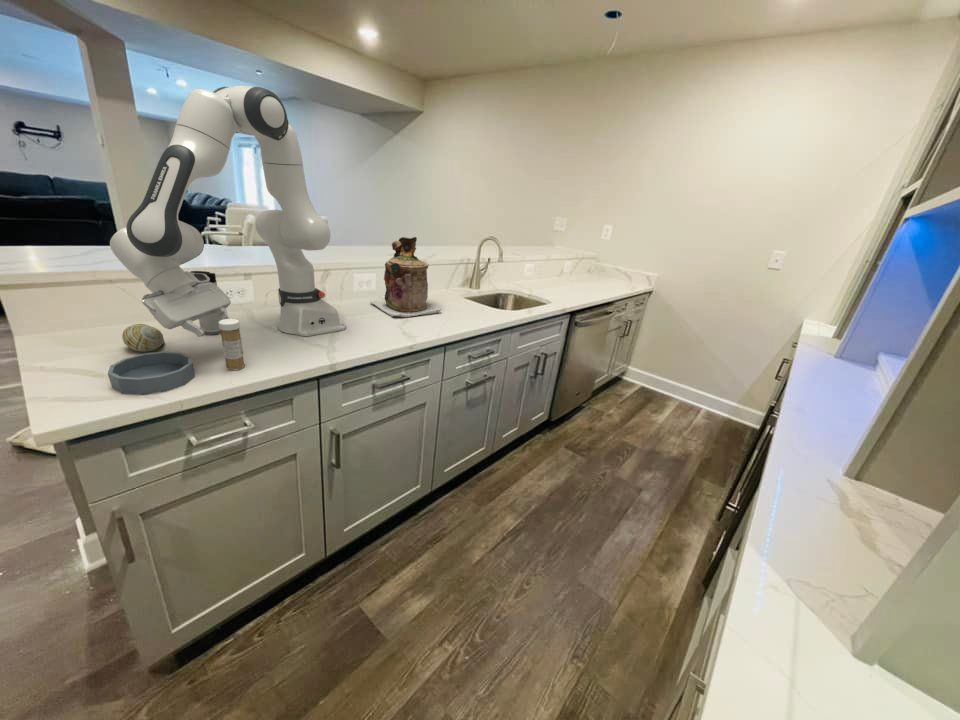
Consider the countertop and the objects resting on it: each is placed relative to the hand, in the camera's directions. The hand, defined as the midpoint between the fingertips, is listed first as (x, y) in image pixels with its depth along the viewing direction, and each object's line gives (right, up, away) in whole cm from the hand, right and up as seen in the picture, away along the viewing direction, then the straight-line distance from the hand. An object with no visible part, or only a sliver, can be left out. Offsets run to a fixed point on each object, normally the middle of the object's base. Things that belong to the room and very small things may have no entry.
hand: (217, 329), depth 101 cm
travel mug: (-18, +1, +24) cm, 30 cm away
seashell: (-26, -5, +9) cm, 28 cm away
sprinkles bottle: (+2, -10, +4) cm, 11 cm away
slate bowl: (-11, -13, -6) cm, 18 cm away
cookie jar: (+36, +15, +72) cm, 82 cm away
